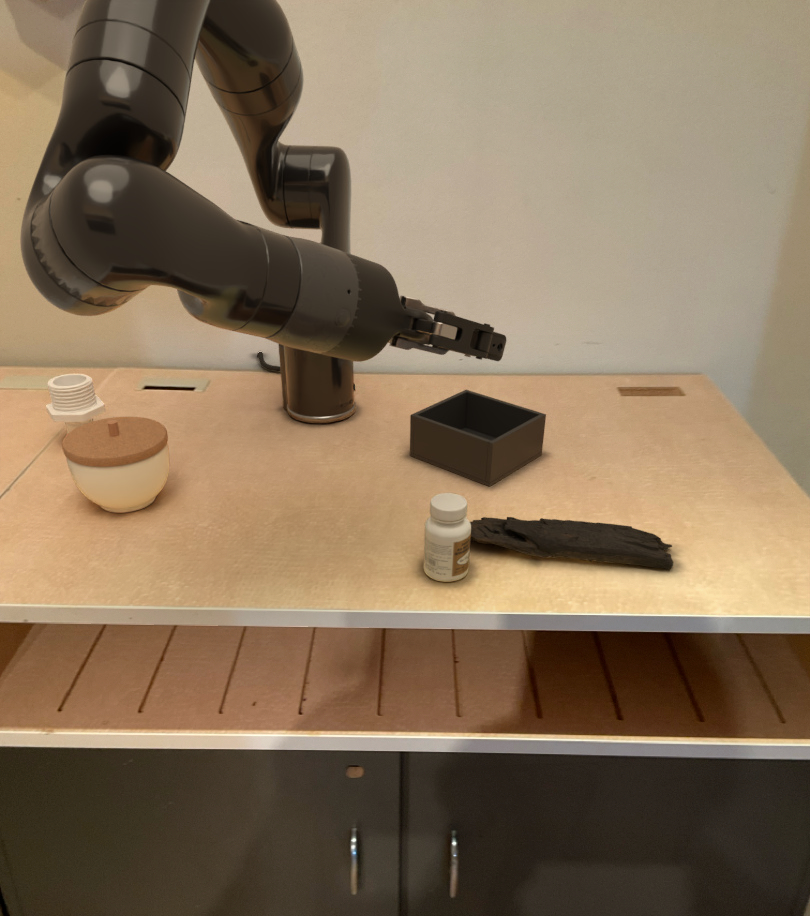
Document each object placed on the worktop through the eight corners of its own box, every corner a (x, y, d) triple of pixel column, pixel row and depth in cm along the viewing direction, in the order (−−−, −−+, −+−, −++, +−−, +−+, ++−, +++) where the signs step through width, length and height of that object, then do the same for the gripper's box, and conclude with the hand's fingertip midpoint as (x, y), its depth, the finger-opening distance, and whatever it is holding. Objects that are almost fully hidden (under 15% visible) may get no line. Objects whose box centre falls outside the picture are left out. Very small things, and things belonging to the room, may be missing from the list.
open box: (409, 455, 98) (410, 414, 95) (464, 428, 106) (466, 389, 103) (489, 486, 92) (492, 443, 89) (541, 455, 99) (546, 414, 96)
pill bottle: (465, 586, 75) (469, 515, 71) (419, 580, 76) (421, 510, 71) (471, 561, 78) (475, 492, 74) (427, 555, 79) (429, 487, 75)
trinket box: (85, 532, 82) (65, 451, 77) (70, 489, 90) (51, 412, 85) (187, 509, 87) (175, 431, 82) (164, 470, 95) (152, 396, 90)
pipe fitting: (63, 455, 98) (48, 394, 93) (51, 435, 103) (36, 376, 98) (115, 444, 100) (103, 384, 96) (100, 424, 106) (88, 367, 101)
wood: (666, 534, 83) (672, 509, 81) (678, 573, 77) (684, 547, 75) (456, 519, 86) (457, 494, 84) (451, 556, 79) (452, 530, 78)
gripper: (397, 255, 52) (539, 307, 64) (275, 241, 62) (418, 288, 73) (372, 368, 54) (515, 399, 65) (257, 337, 63) (400, 369, 75)
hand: (464, 340), depth 69 cm, fingers open, 8 cm apart
